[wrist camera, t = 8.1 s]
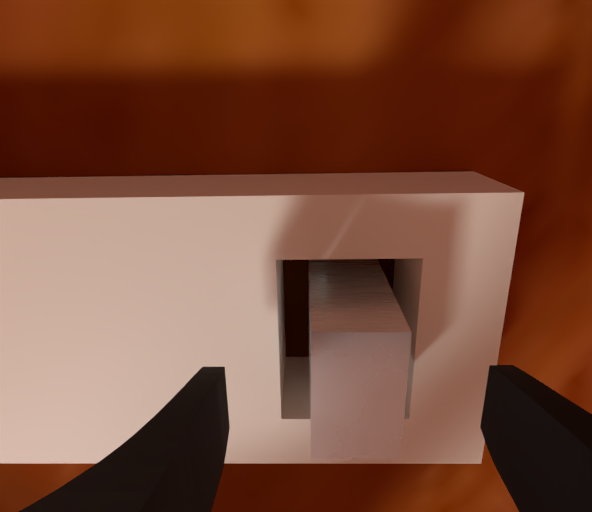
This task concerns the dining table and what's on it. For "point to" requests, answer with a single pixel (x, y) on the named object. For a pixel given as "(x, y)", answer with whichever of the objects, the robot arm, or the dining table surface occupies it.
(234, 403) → the pale beige flat-sided block
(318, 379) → the pinkish white rectangular block
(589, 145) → the dining table surface
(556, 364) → the dining table surface
